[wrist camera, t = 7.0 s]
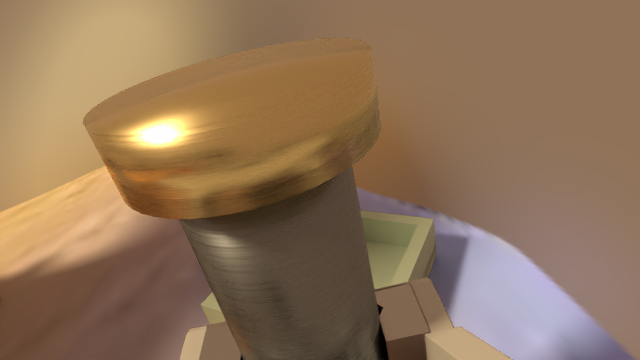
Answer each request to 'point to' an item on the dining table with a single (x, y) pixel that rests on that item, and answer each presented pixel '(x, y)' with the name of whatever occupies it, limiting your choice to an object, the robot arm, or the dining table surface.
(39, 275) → the dining table surface
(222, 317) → the tray
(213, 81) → the lock pin
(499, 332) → the dining table surface
